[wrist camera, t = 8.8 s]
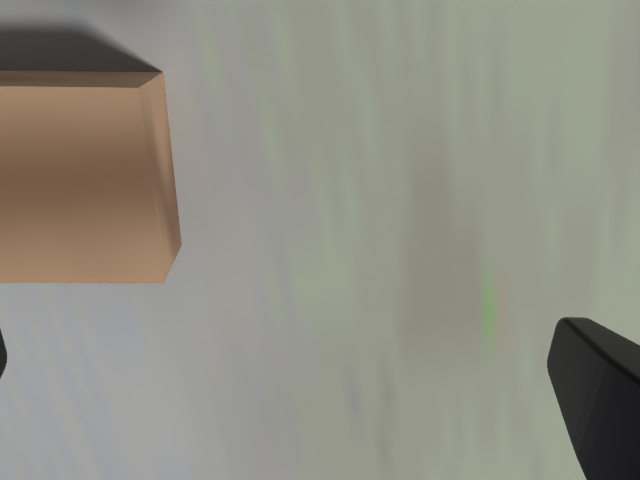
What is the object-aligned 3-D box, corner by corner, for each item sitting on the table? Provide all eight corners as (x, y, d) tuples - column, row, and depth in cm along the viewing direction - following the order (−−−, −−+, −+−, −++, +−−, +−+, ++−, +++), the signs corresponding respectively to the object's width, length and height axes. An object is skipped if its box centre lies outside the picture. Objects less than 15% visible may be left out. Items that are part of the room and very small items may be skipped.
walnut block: (183, 241, 20) (163, 283, 17) (16, 240, 20) (-31, 282, 17) (165, 70, 17) (138, 87, 15) (-28, 68, 17) (-91, 85, 14)
